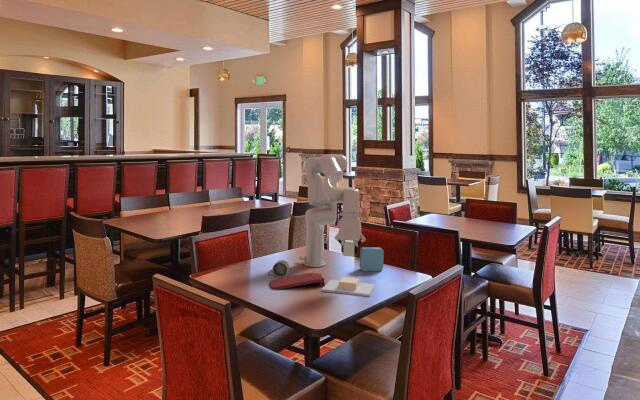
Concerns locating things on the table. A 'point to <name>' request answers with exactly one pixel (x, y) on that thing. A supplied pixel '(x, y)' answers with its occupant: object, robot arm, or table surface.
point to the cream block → (348, 248)
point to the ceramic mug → (279, 269)
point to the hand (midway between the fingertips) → (349, 253)
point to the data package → (371, 259)
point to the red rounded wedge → (297, 281)
